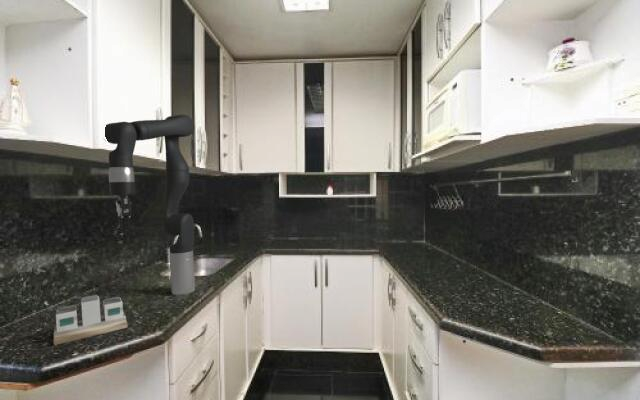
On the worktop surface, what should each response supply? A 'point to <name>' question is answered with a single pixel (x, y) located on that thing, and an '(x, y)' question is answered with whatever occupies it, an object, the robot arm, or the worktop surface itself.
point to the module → (90, 310)
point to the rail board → (75, 330)
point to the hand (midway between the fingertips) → (124, 228)
